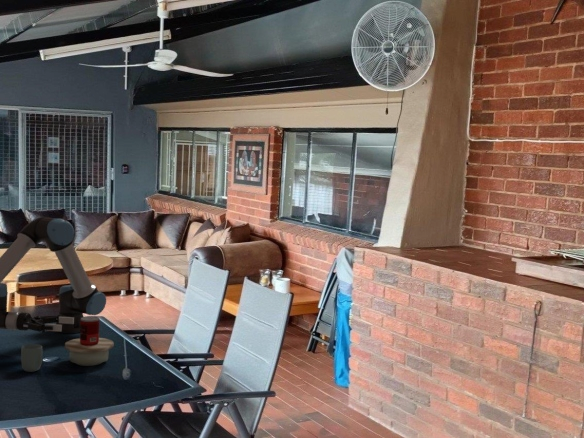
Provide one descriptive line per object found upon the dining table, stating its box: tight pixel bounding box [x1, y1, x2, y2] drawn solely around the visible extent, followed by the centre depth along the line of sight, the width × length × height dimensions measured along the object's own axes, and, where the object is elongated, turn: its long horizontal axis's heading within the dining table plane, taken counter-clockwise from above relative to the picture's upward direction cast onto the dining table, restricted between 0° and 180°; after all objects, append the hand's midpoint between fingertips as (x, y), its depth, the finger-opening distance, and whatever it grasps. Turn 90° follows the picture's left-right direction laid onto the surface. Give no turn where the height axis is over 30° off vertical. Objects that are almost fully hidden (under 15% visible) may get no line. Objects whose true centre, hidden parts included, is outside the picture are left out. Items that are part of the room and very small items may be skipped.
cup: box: [20, 343, 43, 373], centre depth 270 cm, size 8×8×10 cm
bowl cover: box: [64, 337, 114, 353], centre depth 284 cm, size 20×20×1 cm
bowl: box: [69, 349, 110, 367], centre depth 285 cm, size 16×16×7 cm
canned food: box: [79, 315, 100, 346], centre depth 284 cm, size 8×8×11 cm
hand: (67, 324), depth 284 cm, fingers open, 13 cm apart
